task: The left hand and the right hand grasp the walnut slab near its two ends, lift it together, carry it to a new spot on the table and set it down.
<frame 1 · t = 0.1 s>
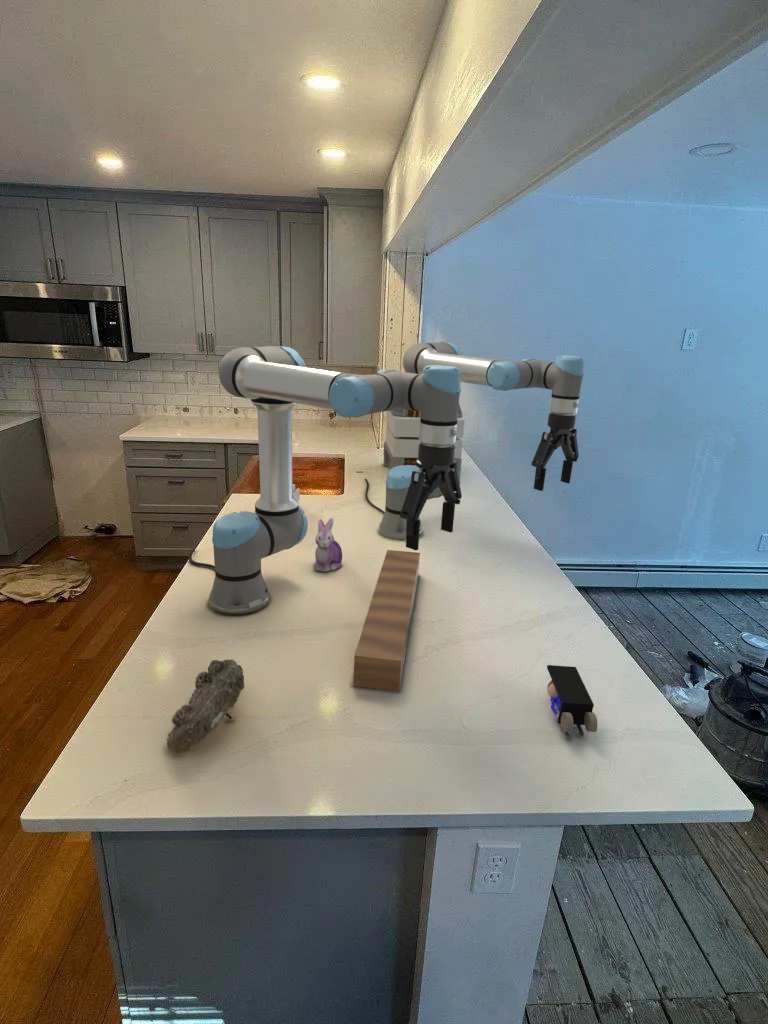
left hand: (430, 539, 123), 28 cm above the counter, tool pointing down, fingers open, 13 cm apart
right hand: (551, 486, 166), 28 cm above the counter, tool pointing down, fingers open, 13 cm apart
figurine: (328, 566, 173), on the counter
light grey slatted crate: (419, 473, 275), on the counter
slab: (391, 621, 144), on the counter
toy: (280, 515, 212), on the counter
fossil: (212, 717, 108), on the counter
figurine character: (566, 717, 112), on the counter
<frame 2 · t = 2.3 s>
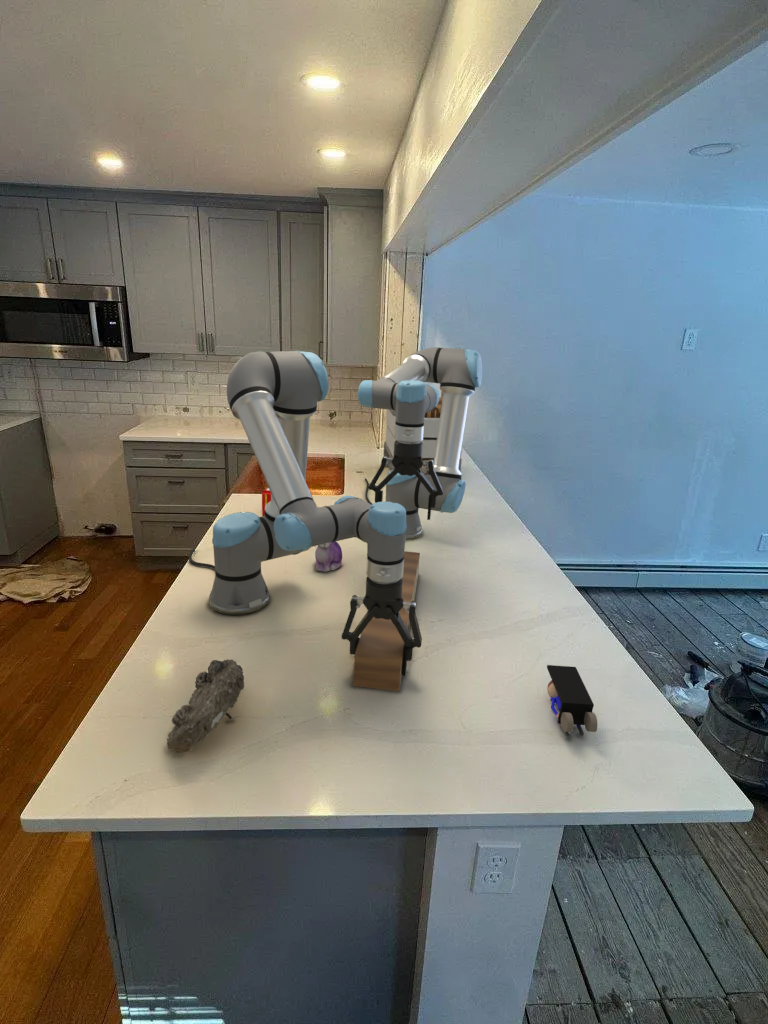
left hand: (380, 669, 124), 1 cm above the counter, tool pointing down, fingers closed on slab, 10 cm apart
right hand: (404, 516, 157), 21 cm above the counter, tool pointing down, fingers open, 13 cm apart
slab: (391, 621, 144), on the counter, touching left hand
everything else where it was.
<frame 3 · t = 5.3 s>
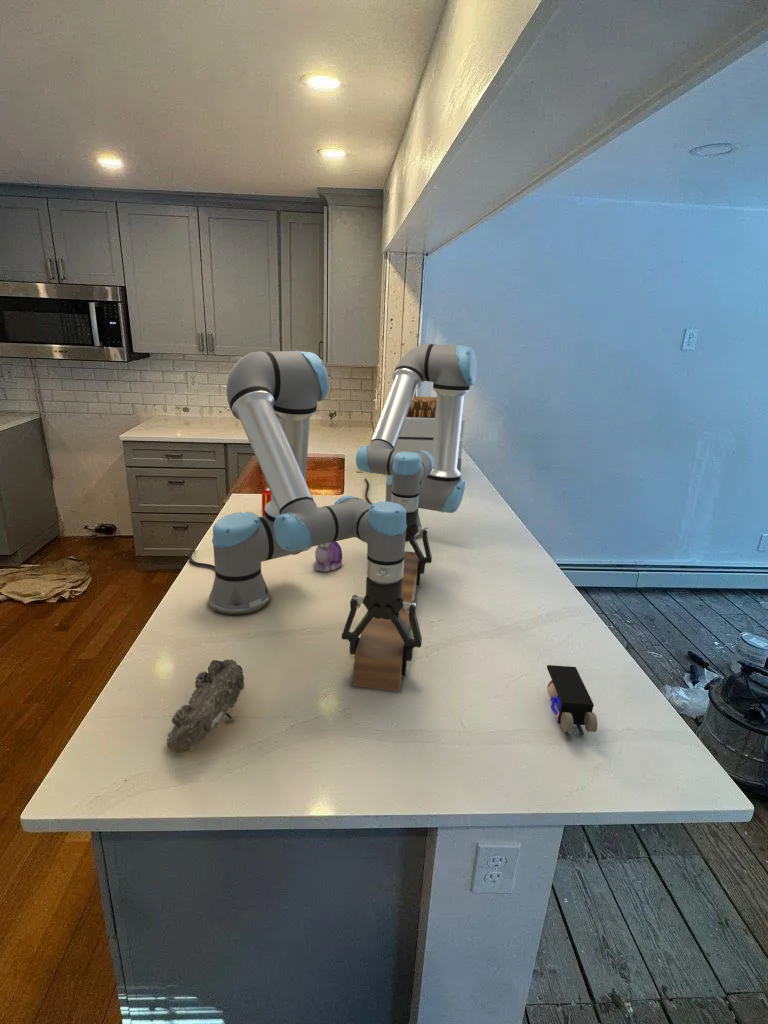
left hand: (380, 669, 124), 1 cm above the counter, tool pointing down, fingers closed on slab, 10 cm apart
right hand: (400, 581, 164), 1 cm above the counter, tool pointing down, fingers closed on slab, 10 cm apart
slab: (391, 621, 144), on the counter, touching right hand, left hand
everything else where it was.
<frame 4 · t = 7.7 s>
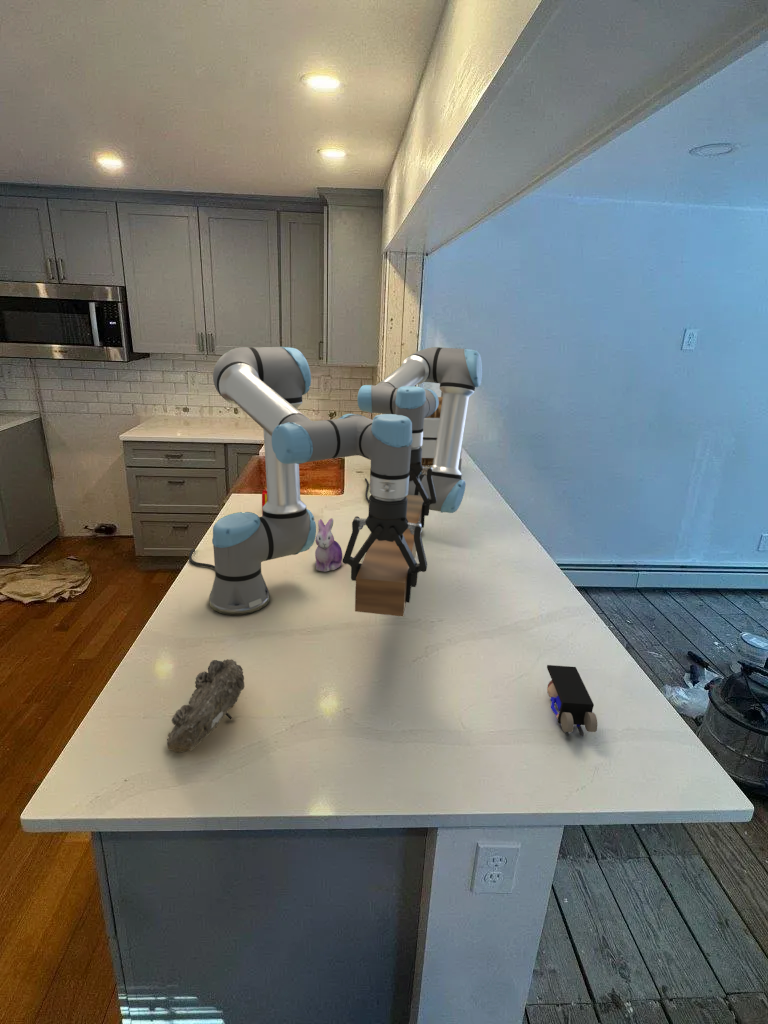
left hand: (383, 596, 118), 18 cm above the counter, tool pointing down, fingers closed on slab, 10 cm apart
right hand: (403, 524, 158), 18 cm above the counter, tool pointing down, fingers closed on slab, 10 cm apart
slab: (394, 557, 138), point 18 cm above the counter, touching right hand, left hand
everything else where it was.
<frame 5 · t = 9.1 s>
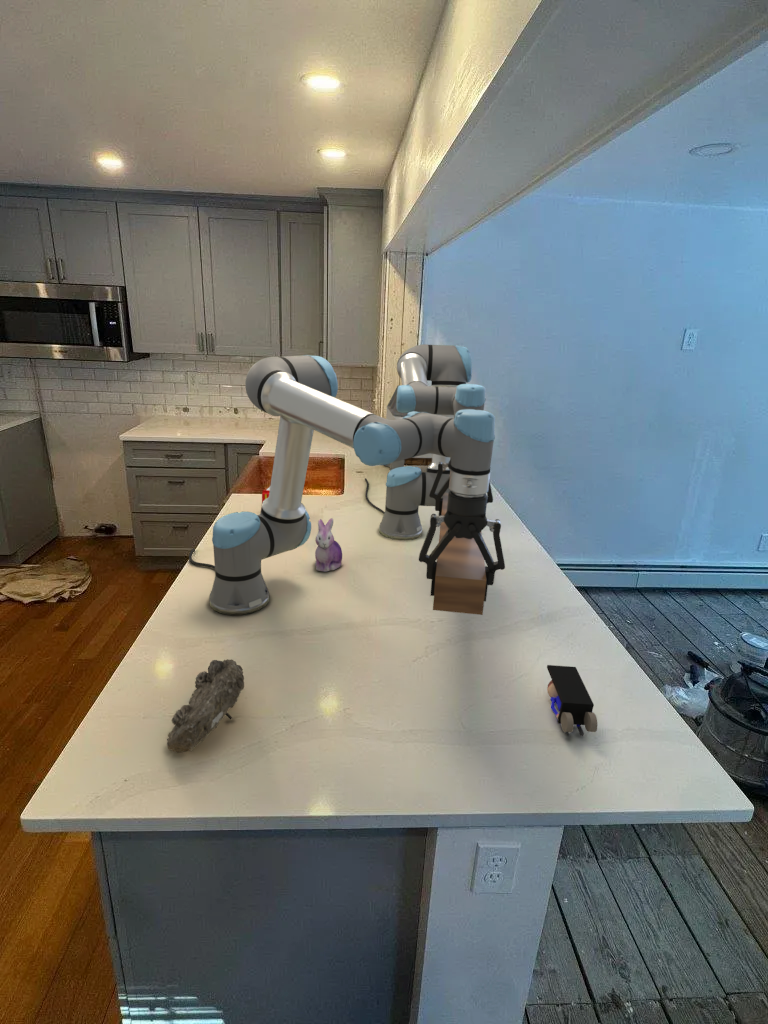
left hand: (458, 595, 116), 20 cm above the counter, tool pointing down, fingers closed on slab, 10 cm apart
right hand: (458, 523, 157), 20 cm above the counter, tool pointing down, fingers closed on slab, 10 cm apart
slab: (458, 556, 137), point 19 cm above the counter, touching right hand, left hand
everything else where it was.
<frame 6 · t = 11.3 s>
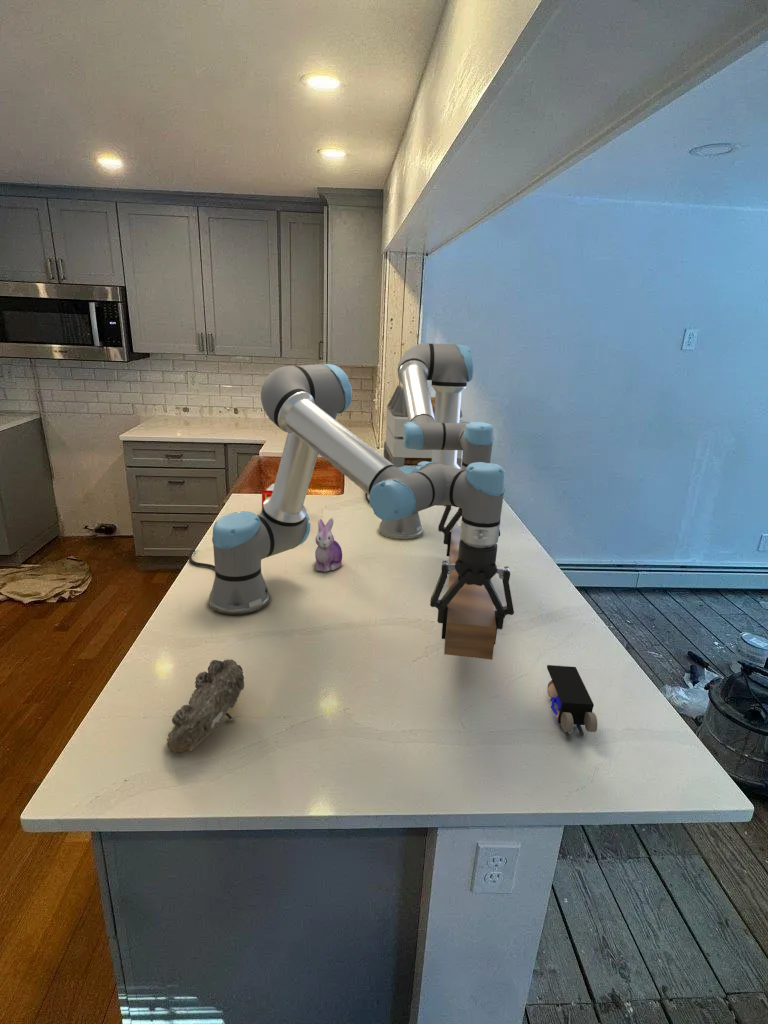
left hand: (468, 638, 120), 10 cm above the counter, tool pointing down, fingers closed on slab, 10 cm apart
right hand: (466, 556, 160), 10 cm above the counter, tool pointing down, fingers closed on slab, 10 cm apart
slab: (466, 593, 140), point 9 cm above the counter, touching right hand, left hand
everything else where it was.
when the left hand's fingers open (1 cm above the counter, at t = 13.4 s): slab stays where it is, on the counter.
when the right hand's fingers open (1 cm above the counter, at t = 13.4 s): slab stays where it is, on the counter.
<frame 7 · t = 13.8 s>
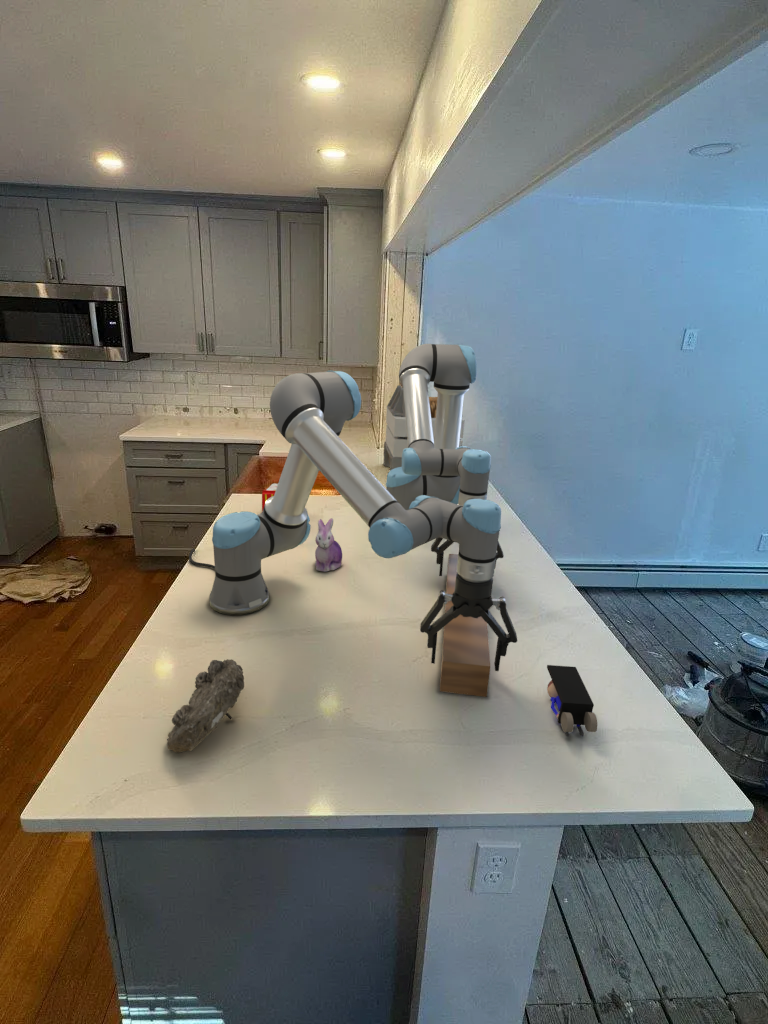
left hand: (464, 663, 122), 3 cm above the counter, tool pointing down, fingers open, 13 cm apart
right hand: (464, 576, 162), 3 cm above the counter, tool pointing down, fingers open, 13 cm apart
slab: (463, 625, 143), on the counter
everything else where it was.
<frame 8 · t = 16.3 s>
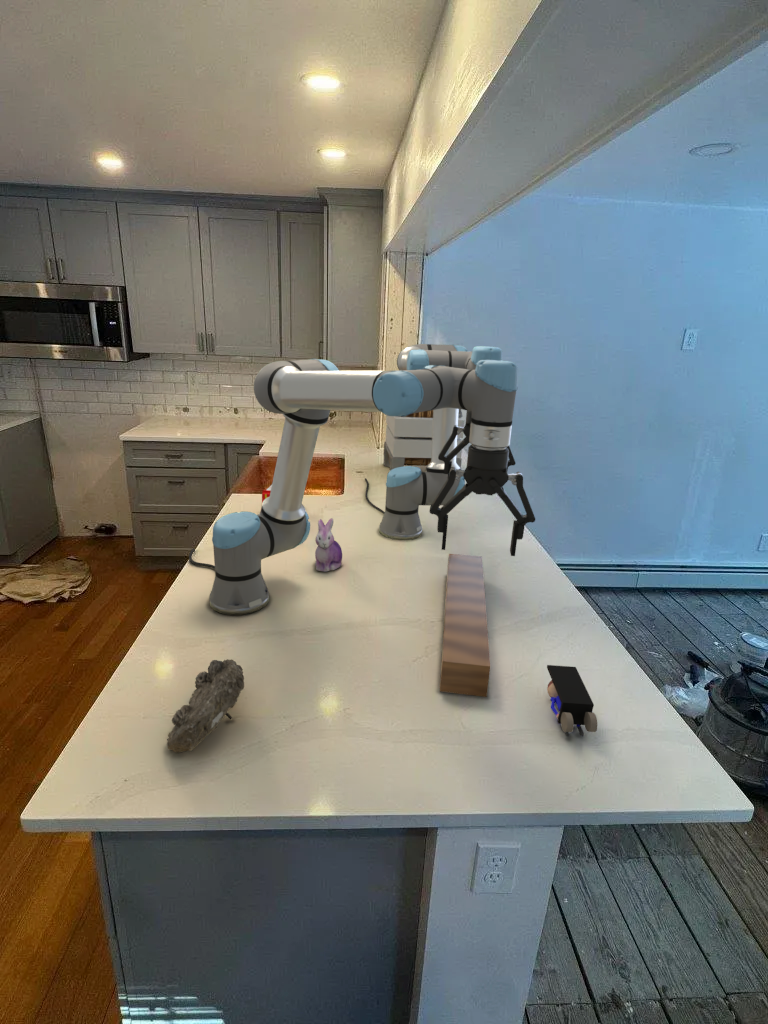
left hand: (477, 550, 113), 30 cm above the counter, tool pointing down, fingers open, 13 cm apart
right hand: (473, 487, 153), 30 cm above the counter, tool pointing down, fingers open, 13 cm apart
nothing on the counter moved.
at the end: slab inside the target area (0.2 cm from its centre), on the counter; slab tilted 0°; slab never tilted more than 1° during the clip; both hands held the slab at the same time; the left hand is holding nothing; the right hand is holding nothing; slab at rest at the end (0.0 cm/s) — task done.
